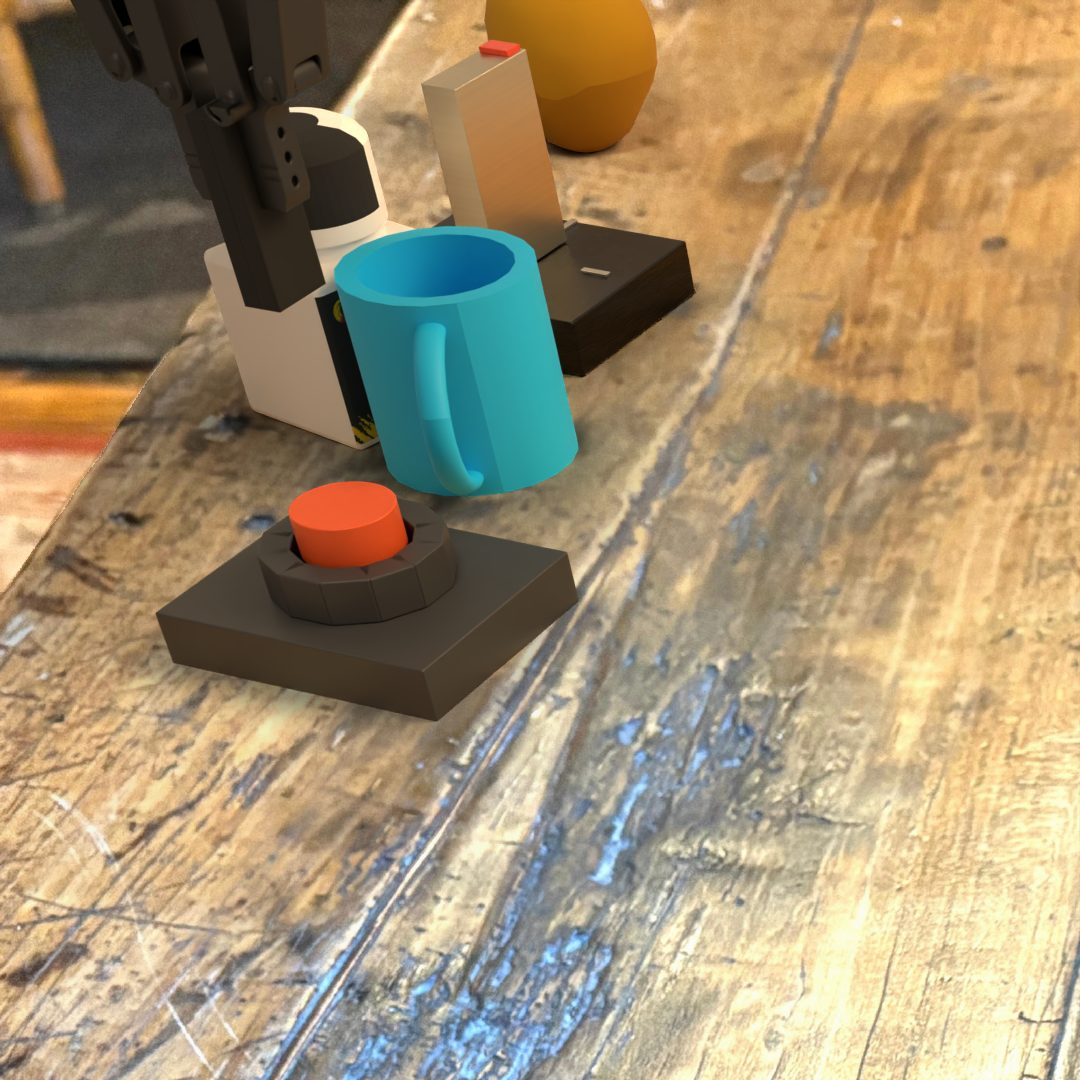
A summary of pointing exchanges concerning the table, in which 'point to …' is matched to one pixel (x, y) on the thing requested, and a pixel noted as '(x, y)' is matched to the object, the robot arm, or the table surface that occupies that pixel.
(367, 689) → the button box
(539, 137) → the tilted slab handle
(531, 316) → the mug
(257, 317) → the medicine bottle
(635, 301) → the dial panel
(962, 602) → the table surface
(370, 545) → the button
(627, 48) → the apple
